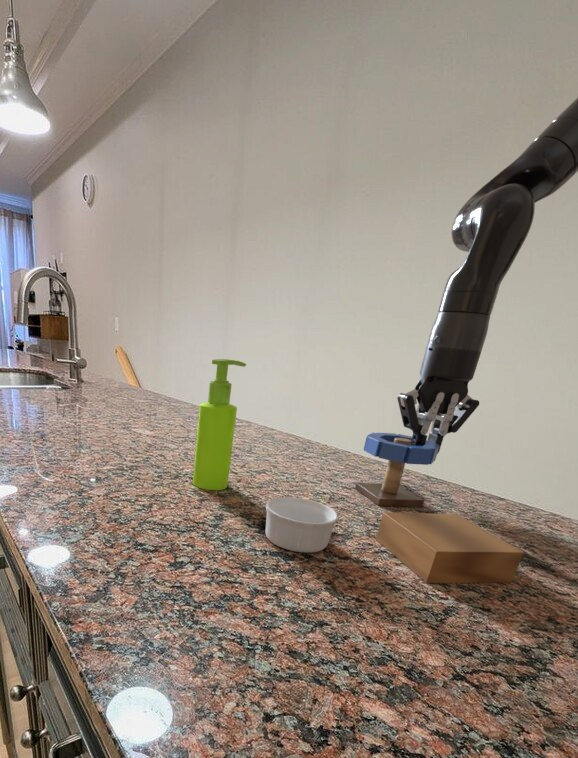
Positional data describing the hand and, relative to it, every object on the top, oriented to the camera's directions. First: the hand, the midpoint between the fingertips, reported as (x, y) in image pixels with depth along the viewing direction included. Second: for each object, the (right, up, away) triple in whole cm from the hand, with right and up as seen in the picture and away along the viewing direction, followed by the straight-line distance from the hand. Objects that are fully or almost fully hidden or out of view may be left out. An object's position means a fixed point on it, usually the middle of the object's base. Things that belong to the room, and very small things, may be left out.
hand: (422, 455), depth 75 cm
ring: (-4, 0, -1) cm, 4 cm away
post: (-5, -7, +2) cm, 9 cm away
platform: (-8, -15, -19) cm, 26 cm away
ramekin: (-25, -13, -17) cm, 33 cm away
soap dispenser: (-35, -5, +1) cm, 35 cm away
